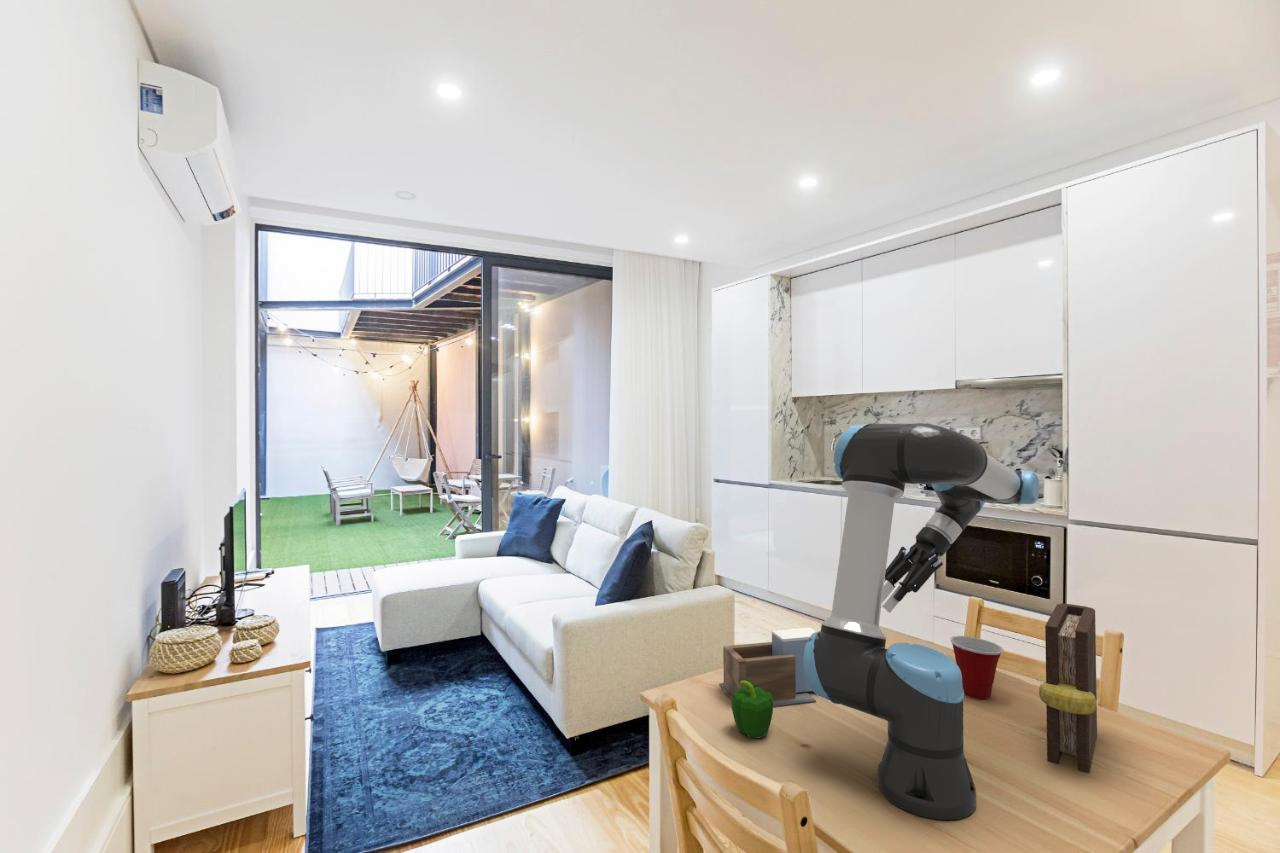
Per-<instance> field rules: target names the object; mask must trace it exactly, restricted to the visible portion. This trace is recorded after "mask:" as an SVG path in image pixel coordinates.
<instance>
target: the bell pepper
mask: <svg viewBox="0 0 1280 853" xmlns="http://www.w3.org/2000/svg"><path fill="white" fill-rule="evenodd" d="M740 684H741V685H742V686H743V685H745V686H747V687H748V688H749V690H747V689H743V688H739V689H738V690H737V691H736V693H734V694H733V697H732V700H731V711H732V716H733V720H734V723H735V726H736V728H737V730H738V731H739V732H740V733H741V734H742V733H744V734H745V735H746V736H747V737H749V738H756V739H757V738H759V739H760V738H763V737H764V736H766V735H767V733H768V731H769V729H770V726H771V722H772V719H773V718H772V717H773V714H774V707H773V696H772V694H771V693H770V692H765V691H764V690H762V689H761V688H759V687H757V688H754V687H753V685H752V684H751V683H750V682H748V681H745V680H743V681H740Z"/></svg>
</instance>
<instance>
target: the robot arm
mask: <svg viewBox="0 0 1280 853" xmlns="http://www.w3.org/2000/svg"><path fill="white" fill-rule="evenodd" d="M833 463H834V471H835V474H836V475H837V476H838V478H839V479H841V481H842V482H841V486H842V488H843V489H844V491H846V493H847V495H848V496H847V502H846V509H845V514H844V515H845V517H844V522H843V523H844V524H843V531H842V537H841V546H840V552H839V558H838V565H837V573H836V578H835V586H834V592H833V593H834V594H833V600H832V608H831V614H830V616H829V617H827V618H826V619H825V620H823V621H822V622H821V626H820V630H818V631H816V632H815V633H813V634H812V635H811V636H810V637H809V642H807V643H806V646H805V651H804V672H805V676H806V680H807V682H808V684H809V686H810V688H811V689H812V691H811V692H813V693H815V695H817V696H818V697H820V698H823V699H825V700H827V701H830V702H831V703H832V704H835V705H842V706H845V707H847V708H850V709H853V710H856V711H859V712H862V713H864V714H867V715H870V716H873V717H876V718H879V719H882V720H884V721H887V741H886V744H885V746H884V750H883V753H882V756H881V759H880V762H879V764H878V766H877V772H876V773H877V774H876V775H877V787H878V789H879V791H880V792H881V794H882V795H883V796H884V797H885V798H886V799H887V800H888V801H889V802H891V803H892V804H893V805H895V806H897V807H899V808H900V809H903V810H905V811H906V812H908V813H911V814H914V815H917V816H921V817H923V818H929V819H934V820H935V819H936V820H943V821H944V820H945V821H947V820H948V821H949V820H952V821H953V820H958V819H963V818H966V817H968V816H970V815H972V814H973V813H974V812H975V810H976V808H977V789H976V785H975V783H974V779H973V776H972V773H971V771H970V769H969V765H968V762H967V759H966V756H965V753H964V700H965V699H964V698H965V695H964V690H963V687H962V674H961V671H960V669H959V667H958V666H957V664H956V661H954V660H953V659H952V658H951V657H950V656H948V655H946V654H945V653H943V652H941V651H938V650H937V649H934V648H931V647H927V646H926V645H922V644H916V643H913V644H910V643H908V642H897V643H892V644H890V645H889V646H888V647H887V648H886V641H887V637H886V635H885V634H884V633H883V630H882V629H881V627H880V619H881V611H882V608H883V609H885V611H886V612H887V613H889V614H890V613H892V611H893V610H894V609H895V608H896V606H897V605H898V604H899V603H900V602H901V601H902V600H903V599H904V597H905V596H906V595H907V594H909V593H911V592H913V593H918V592H919V590H921V588H922V587H923V586H924V584H926V582H928V580H929V579H930V577H932V576H933V574H935V572H936V571H937V570H938V569H939V568H941V567H942V566H944V565H943V564H944V563H943V562H942V561H941V560H940V559H939V557H943V556H944V555H945V554H946V553H947V552H948V551H949V549H950V547H951V545H953V544H954V542H955V541H956V540H957V539H958V537H959V536H960V535H961V534H962V533H963V531H964V530H965V529H966V527H968V526H969V524H970V523H971V521H972V520H973V519H974V518H975V516H977V514H979V513H980V511H981V510H982V508H983V507H984V505H985V503H987V502H991V503H1003V504H1004V503H1005V504H1014V505H1015V504H1017V505H1034V504H1035V503H1036V502H1037V501H1038V499H1039V495H1040V480H1039V477H1038V475H1037V473H1035V471H1030V470H1029V471H1028V470H1022V469H1020V470H1013V469H1012V468H1010V467H1009V466H1007V465H1005V464H1003V463H1002V462H1000V461H999V460H997V459H995V458H993V457H992V456H991V455H989V454H987V451H986V450H985V448H984V447H983V446H982V445H981V443H979V442H977V441H976V440H975V439H973V438H971V437H970V436H967V435H965V434H963V433H961V432H958V431H956V430H952V429H950V428H947V427H944V426H940V425H935V424H931V423H925V422H924V423H918V422H917V423H872V422H871V423H865V424H854V425H852V426H849V427H847V428H846V429H845V430H844V431H843V432H842V433H841V434H840V436H839V438H838V439H837V441H836V444H835V447H834V452H833ZM906 484H911V485H912V484H913V485H914V484H918V485H931V488H932V489H933V491H934V492H935V493H936V496H937V498H938V500H939V501H940V503H941V505H940V506H939V507H938V509H937V510H935V512H934V513H933V515H932V516H931V517H930V518H929V519H927V521H926V522H925V524H924V525H925V526H922V528H921V529H920V530H919V531H918V532H917V534H916V535H915V543H914V544H913V545H911V546H910V548H905V546H901V547H900V549H899V551H898V553H897V555H896V556H895V557H894V558H893V560H892V561H891V562H890V563H889V565H888V566H887V563H888V554H889V546H890V540H891V531H892V523H893V515H894V507H895V506H894V505H895V502H896V500H898V499H900V498H901V497H903V496H904V494H905V488H906V487H905V486H906ZM904 576H905V577H904ZM903 577H904V578H903ZM902 578H903V580H902V581H901V579H902ZM897 583H898V584H897ZM896 584H897V585H896Z"/></svg>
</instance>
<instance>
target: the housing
mask: <svg viewBox="0 0 1280 853" xmlns="http://www.w3.org/2000/svg"><path fill="white" fill-rule="evenodd" d="M722 656H723V657H722V658H723V661H722V662H723V682H720V683H718V684H719V687H720V686H721V687H722V688H721V687H720V688H721V689H722V690H723V691H724V693H725V694H726V695H727V696H728V697H729V698H730V699H731V701H732V697H733V694H734V693H736V691H737V690H738V689H739V688H743V689H747V690H749V688H748V687H747V686H745V685H743V686H742V685H741V684H740V681H743V680H745V681H748V682H750V683H751V684H752V685H753V687H754V688H757V687H759V688H761V689H762V690H764V691H765V692H770V693H771V694H772V696H773V708H781V707H789V706H797V705H798V706H799V705H806V704H814V703H817V700H816V699H815V697H814V696H812V695H811V694H809V693H808V691H807V692H798V693H796V674H795V656H794V655H793V654H786V655H775V656H772V641H769V642H767V641H766V642H758V643H757V642H756V643H745V644H734V645H726V646H725V645H724V646H723V655H722Z"/></svg>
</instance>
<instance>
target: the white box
mask: <svg viewBox="0 0 1280 853" xmlns="http://www.w3.org/2000/svg"><path fill="white" fill-rule="evenodd" d="M815 632H817V631H816V630H815V629H813V628H812V627H799V628H788V629H778V630H777V629H776V630H772V631H771V642H772V656H775V655H786V654H793V655H794V656H795V674H796V693H798V692H807V693H808V692H813V691H812V689H811V688H810V686H809V684H808V682H807V680H806V676H805V672H804V651H805V646H806V643H807V642H809V637H810V636H811V635H812V634H813V633H815Z"/></svg>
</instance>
